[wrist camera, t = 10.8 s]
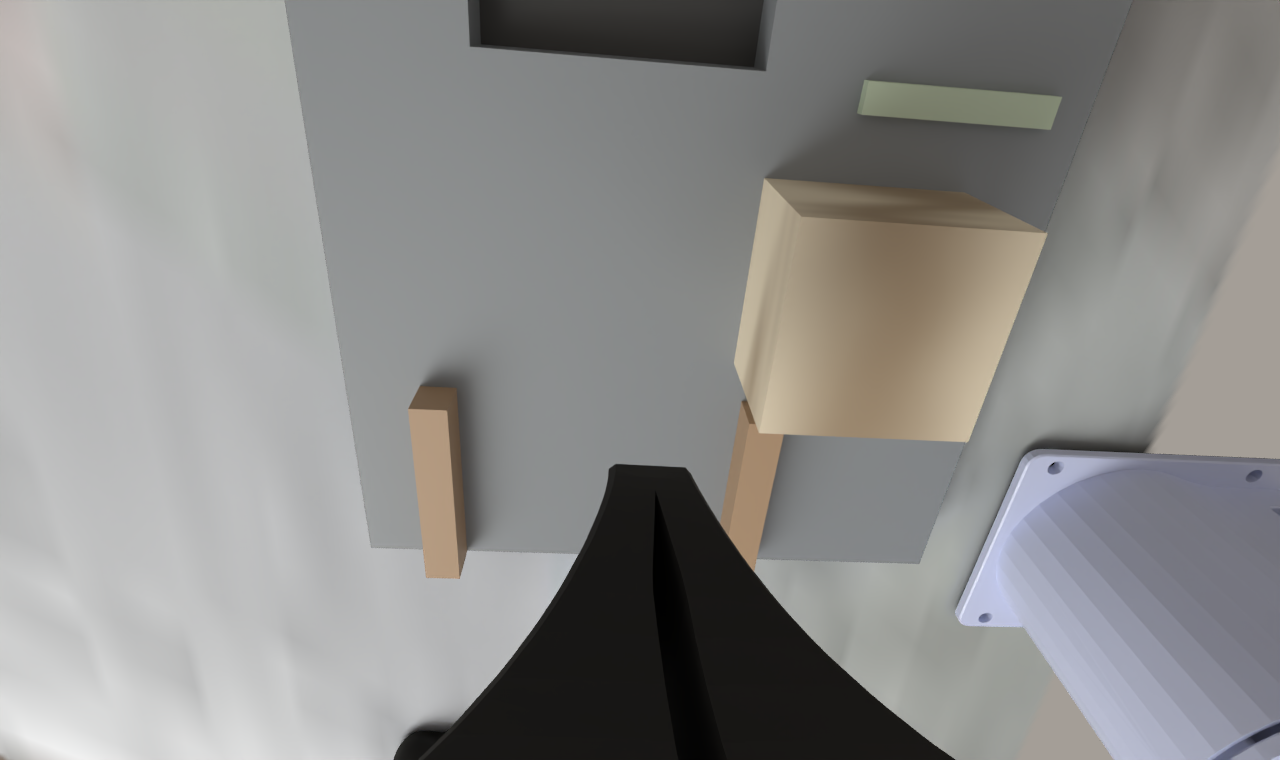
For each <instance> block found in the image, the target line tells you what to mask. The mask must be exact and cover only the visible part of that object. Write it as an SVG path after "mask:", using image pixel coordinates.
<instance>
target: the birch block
mask: <svg viewBox="0 0 1280 760" xmlns="http://www.w3.org/2000/svg"><path fill="white" fill-rule="evenodd" d="M1047 234H1048V233H1046V232H1044V231H1042V230H1040V229H1038V228H1036V227H1034V226H1032V225H1030V224H1028V223H1026V222H1024V221H1022V220H1020V219H1018V218H1016V217H1014V216H1012V215H1009V214H1007V213H1005V212H1003V211H1001V210H999V209H997V208H995V207H993V206H991V205H989V204H987V203H985V202H983V201H981V200H979V199H977V198H975V197H973V196H971V195H969V194H967V193H965V192H952V191H938V190H924V189H910V188H896V187H882V186H868V185H854V184H840V183H826V182H813V181H799V180H785V179H771V178H764V182H763V188H762V194H761V200H760V207H759V213H758V219H757V225H756V231H755V237H754V243H753V249H752V255H751V261H750V268H749V274H748V280H747V286H746V292H745V298H744V304H743V310H742V316H741V322H740V328H739V335H738V341H737V347H736V353H735V359H734V365H735V368H736V371H737V373H738V376H739V379H740V382H741V384H742V387H743V390H744V393H745V396H746V398H747V401H748V404H749V407H750V410H751V412H752V415H753V418H754V421H755V423H756V426H757V429H758V432H759V433H766V434H789V435H812V436H835V437H858V438H881V439H905V440H928V441H951V442H968V441H969V439H970V436H971V434H972V431H973V428H974V426H975V423H976V420H977V418H978V415H979V413H980V410H981V407H982V405H983V402H984V400H985V397H986V394H987V392H988V389H989V386H990V384H991V381H992V379H993V376H994V373H995V371H996V368H997V365H998V363H999V360H1000V358H1001V355H1002V352H1003V350H1004V347H1005V345H1006V342H1007V339H1008V337H1009V334H1010V331H1011V329H1012V326H1013V324H1014V321H1015V318H1016V316H1017V313H1018V310H1019V308H1020V305H1021V303H1022V300H1023V297H1024V295H1025V292H1026V290H1027V287H1028V284H1029V282H1030V279H1031V276H1032V274H1033V271H1034V269H1035V266H1036V263H1037V261H1038V258H1039V255H1040V253H1041V250H1042V248H1043V245H1044V242H1045V240H1046V237H1047Z"/></svg>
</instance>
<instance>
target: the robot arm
mask: <svg viewBox="0 0 1280 760" xmlns="http://www.w3.org/2000/svg"><path fill="white" fill-rule="evenodd" d="M1054 462H1055V464H1054V465H1052V466H1050V465H1051V464H1052V463H1054ZM1049 466H1050V467H1049ZM955 614H956V616H957V618H958V620H959V622H960V623H961V624H963V625H967V626H996V627H1024V628H1025V630H1026V631H1027V633H1028V634H1029V636H1030V637H1031V638H1032V640H1033V641H1034V643H1035V644H1036V646H1037V647H1038V649H1039V650H1040V652H1041V653H1042V655H1043V656H1044V658H1045V659H1046V661H1047V662H1048V664H1049V665H1050V666H1051V668H1052V669H1053V671H1054V672H1055V674H1056V675H1057V677H1058V678H1059V680H1060V681H1061V683H1062V684H1063V686H1064V687H1065V689H1066V690H1067V691H1068V693H1069V694H1070V696H1071V697H1072V699H1073V700H1074V702H1075V703H1076V704H1077V706H1078V708H1079V709H1080V710H1081V712H1082V714H1083V715H1084V716H1085V718H1086V719H1087V721H1088V722H1089V724H1090V725H1091V727H1092V728H1093V729H1094V731H1095V733H1096V734H1097V736H1098V737H1099V738H1100V740H1101V741H1102V743H1103V744H1104V746H1105V747H1106V749H1107V750H1108V752H1109V753H1110V755H1111V756H1112V758H1113V759H1114V760H1280V459H1265V458H1241V457H1239V458H1238V457H1219V456H1217V457H1216V456H1196V455H1194V456H1193V455H1172V454H1149V453H1126V452H1102V451H1079V450H1056V449H1035V450H1033V451H1030V452H1028V453H1027V454H1026V455H1024V457H1023V458H1022V460H1021V461H1020V464H1019V466H1018V468H1017V471H1016V473H1015V475H1014V478H1013V480H1012V482H1011V484H1010V487H1009V489H1008V491H1007V494H1006V496H1005V498H1004V500H1003V503H1002V505H1001V507H1000V510H999V512H998V514H997V517H996V519H995V521H994V523H993V526H992V528H991V530H990V533H989V535H988V537H987V540H986V542H985V544H984V546H983V549H982V551H981V553H980V556H979V558H978V560H977V563H976V565H975V567H974V569H973V572H972V574H971V576H970V579H969V581H968V583H967V585H966V588H965V590H964V592H963V595H962V597H961V599H960V602H959V604H958V606H957V608H956V612H955ZM418 760H955V759H954V758H952V757H951V756H949V755H948V754H947V753H945V752H944V751H942V750H941V749H939V748H938V747H937V746H935V745H934V744H932V743H931V742H930V741H928V740H927V739H926V738H925V737H923V736H922V735H921V734H919V733H918V732H917V731H916V730H914V729H913V728H912V727H911V726H909V725H908V724H907V723H906V722H904V721H903V720H902V719H901V718H899V717H898V716H897V715H895V714H894V713H893V712H892V711H890V710H889V709H888V708H887V707H885V706H884V705H883V704H882V703H881V702H880V701H878V700H877V699H876V698H875V697H874V696H872V695H871V694H870V693H869V692H868V691H867V690H866V689H865V688H863V687H862V686H861V685H860V684H859V683H858V682H857V681H856V680H855V679H854V678H852V677H851V676H850V675H849V674H848V673H847V672H846V671H845V670H844V669H842V668H841V667H840V666H839V665H838V664H837V663H836V662H835V661H834V660H833V659H831V658H830V657H829V656H828V655H827V654H826V653H825V652H824V651H823V650H822V649H821V648H820V647H819V646H818V645H817V644H816V643H815V642H814V641H813V640H812V639H811V638H810V637H809V636H808V635H807V633H806V632H805V631H804V630H803V629H802V628H801V627H800V626H799V625H798V624H797V623H796V622H795V621H794V619H793V618H792V617H791V616H790V615H789V614H788V613H787V612H786V610H785V609H784V608H783V607H782V606H781V605H780V604H779V602H778V601H777V600H776V599H775V598H774V596H773V595H772V594H771V593H770V592H769V590H768V589H767V588H766V586H765V585H764V584H763V583H762V581H761V580H760V579H759V578H758V576H757V575H756V574H755V573H754V571H753V570H752V569H751V567H750V566H749V565H748V563H747V562H746V560H745V559H744V558H743V556H742V555H741V554H740V552H739V551H738V549H737V548H736V546H735V545H734V543H733V542H732V541H731V539H730V538H729V536H728V535H727V533H726V532H725V530H724V529H723V527H722V526H721V524H720V523H719V521H718V520H717V518H716V516H715V515H714V513H713V512H712V510H711V508H710V507H709V505H708V504H707V502H706V500H705V498H704V497H703V495H702V493H701V491H700V490H699V488H698V486H697V484H696V482H695V481H694V479H693V477H692V475H691V473H690V472H689V471H688V470H687V469H686V467H669V466H649V465H630V464H615V465H613V466H612V467H611V468H609V471H608V481H607V486H606V490H605V493H604V497H603V500H602V502H601V505H600V508H599V511H598V514H597V516H596V518H595V520H594V523H593V525H592V527H591V530H590V532H589V534H588V536H587V539H586V541H585V543H584V545H583V547H582V549H581V551H580V553H579V555H578V556H577V558H576V560H575V562H574V564H573V566H572V568H571V569H570V571H569V573H568V575H567V577H566V579H565V580H564V582H563V584H562V585H561V587H560V589H559V590H558V592H557V594H556V595H555V597H554V598H553V600H552V602H551V603H550V605H549V606H548V608H547V609H546V611H545V612H544V614H543V615H542V617H541V618H540V620H539V621H538V623H537V624H536V625H535V627H534V628H533V630H532V631H531V632H530V634H529V635H528V636H527V638H526V639H525V640H524V642H523V643H522V644H521V646H520V647H519V648H518V650H517V651H516V652H515V654H514V655H513V656H512V658H511V659H510V660H509V661H508V663H507V664H506V665H505V667H504V668H503V669H502V670H501V671H500V673H499V674H498V675H497V676H496V677H495V679H494V680H493V681H492V682H491V683H490V684H489V685H488V687H487V688H486V689H485V690H484V691H483V692H482V693H481V694H480V696H479V697H478V698H477V699H476V700H475V701H474V702H473V703H472V705H471V706H470V707H469V708H468V709H467V710H466V711H465V712H464V714H463V715H462V716H461V717H460V718H459V719H458V720H457V721H456V722H455V723H454V725H453V726H452V727H451V728H450V729H449V730H448V731H447V732H446V733H445V734H444V735H443V736H442V737H441V738H440V739H439V740H438V741H437V742H436V743H435V744H434V745H433V746H432V747H431V748H430V749H429V750H427V751H426V752H425V753H424V754H423V755H422V756H421V757H420V758H419V759H418Z"/></svg>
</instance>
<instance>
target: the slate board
mask: <svg viewBox="0 0 1280 760" xmlns="http://www.w3.org/2000/svg"><path fill="white" fill-rule="evenodd" d="M1132 2H1133V0H285V6H286V13H287V19H288V25H289V32H290V38H291V44H292V51H293V57H294V63H295V70H296V76H297V82H298V89H299V95H300V101H301V108H302V114H303V120H304V127H305V133H306V139H307V146H308V152H309V158H310V165H311V171H312V177H313V184H314V190H315V196H316V203H317V209H318V215H319V222H320V228H321V234H322V241H323V247H324V253H325V260H326V266H327V272H328V278H329V285H330V291H331V297H332V304H333V310H334V316H335V323H336V329H337V335H338V342H339V348H340V354H341V361H342V367H343V373H344V380H345V386H346V392H347V399H348V405H349V411H350V418H351V424H352V430H353V437H354V443H355V449H356V456H357V462H358V468H359V475H360V481H361V487H362V494H363V500H364V506H365V513H366V519H367V525H368V532H369V538H370V544H371V548H395V549H423V553H424V563H425V572H426V578H455V579H460V575H461V572H462V568H463V564H464V560H465V557H466V553H467V551H497V552H532V553H566V554H579V553H580V551H581V549H582V547H583V545H584V543H585V541H586V539H587V536H588V534H589V532H590V530H591V527H592V525H593V523H594V520H595V518H596V516H597V514H598V511H599V508H600V505H601V502H602V500H603V497H604V493H605V490H606V486H607V481H608V471H609V468H611V467H612V466H613V465H615V464H630V465H649V466H669V467H686V469H687V470H688V471H689V472H690V473H691V475H692V477H693V479H694V481H695V482H696V484H697V486H698V488H699V490H700V491H701V493H702V495H703V497H704V498H705V500H706V502H707V504H708V505H709V507H710V508H711V510H712V512H713V513H714V515H715V516H716V518H717V520H718V521H719V523H720V524H721V526H722V527H723V529H724V530H725V532H726V533H727V535H728V536H729V538H730V539H731V541H732V542H733V543H734V545H735V546H736V548H737V549H738V551H739V552H740V554H741V555H742V556H743V558H744V559H745V560H746V562H747V563H748V565H749V566H750V567H751V569H752V570H753V571H754V569H755V564H756V559H771V560H806V561H840V562H874V563H908V564H919V563H920V561H921V558H922V555H923V553H924V550H925V547H926V545H927V542H928V539H929V537H930V534H931V532H932V529H933V526H934V524H935V521H936V518H937V516H938V513H939V510H940V508H941V505H942V503H943V500H944V497H945V495H946V492H947V489H948V487H949V484H950V481H951V479H952V476H953V474H954V471H955V468H956V466H957V463H958V460H959V458H960V455H961V453H962V450H963V447H964V445H965V442H951V441H928V440H905V439H881V438H858V437H835V436H812V435H789V434H766V433H759V432H758V429H757V426H756V423H755V421H754V418H753V415H752V412H751V410H750V407H749V404H748V401H747V398H746V396H745V393H744V390H743V387H742V384H741V382H740V379H739V376H738V373H737V371H736V368H735V365H734V359H735V353H736V347H737V341H738V335H739V328H740V322H741V316H742V310H743V304H744V298H745V292H746V286H747V280H748V274H749V268H750V261H751V255H752V249H753V243H754V237H755V231H756V225H757V219H758V213H759V207H760V200H761V194H762V188H763V182H764V178H771V179H785V180H799V181H813V182H826V183H840V184H854V185H868V186H882V187H896V188H910V189H924V190H938V191H952V192H965V193H967V194H969V195H971V196H973V197H975V198H977V199H979V200H981V201H983V202H985V203H987V204H989V205H991V206H993V207H995V208H997V209H999V210H1001V211H1003V212H1005V213H1007V214H1009V215H1012V216H1014V217H1016V218H1018V219H1020V220H1022V221H1024V222H1026V223H1028V224H1030V225H1032V226H1034V227H1036V228H1038V229H1040V230H1042V231H1044V232H1045V231H1046V229H1047V226H1048V223H1049V221H1050V218H1051V215H1052V213H1053V210H1054V207H1055V205H1056V202H1057V200H1058V197H1059V194H1060V192H1061V189H1062V186H1063V184H1064V181H1065V178H1066V176H1067V173H1068V171H1069V168H1070V165H1071V163H1072V160H1073V157H1074V155H1075V152H1076V149H1077V147H1078V144H1079V142H1080V139H1081V136H1082V134H1083V131H1084V128H1085V126H1086V123H1087V120H1088V118H1089V115H1090V113H1091V110H1092V107H1093V105H1094V102H1095V99H1096V97H1097V94H1098V91H1099V89H1100V86H1101V84H1102V81H1103V78H1104V76H1105V73H1106V70H1107V68H1108V65H1109V62H1110V60H1111V57H1112V55H1113V52H1114V49H1115V47H1116V44H1117V41H1118V39H1119V36H1120V33H1121V31H1122V28H1123V26H1124V23H1125V20H1126V18H1127V15H1128V12H1129V10H1130V7H1131V5H1132Z"/></svg>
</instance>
